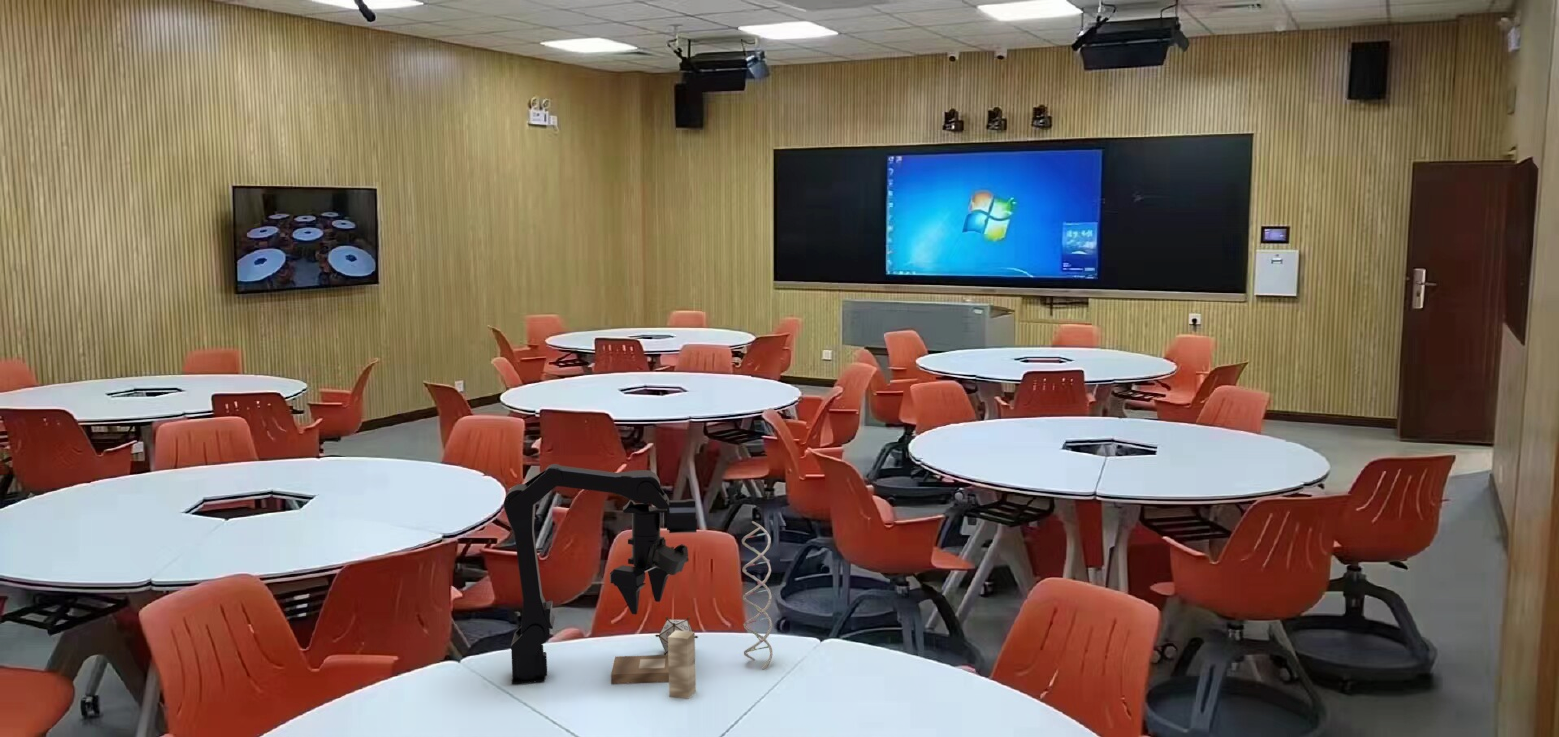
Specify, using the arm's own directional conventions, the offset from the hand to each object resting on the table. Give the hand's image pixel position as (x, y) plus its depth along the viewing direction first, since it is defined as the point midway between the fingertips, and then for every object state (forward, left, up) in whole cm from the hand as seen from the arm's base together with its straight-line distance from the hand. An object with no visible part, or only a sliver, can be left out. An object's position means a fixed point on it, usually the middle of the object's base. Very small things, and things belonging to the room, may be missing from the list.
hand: (646, 607), depth 239 cm
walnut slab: (+1, -2, -13) cm, 14 cm away
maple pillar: (+6, -14, -14) cm, 20 cm away
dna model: (+23, -2, -14) cm, 27 cm away
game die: (+7, +8, -14) cm, 17 cm away
